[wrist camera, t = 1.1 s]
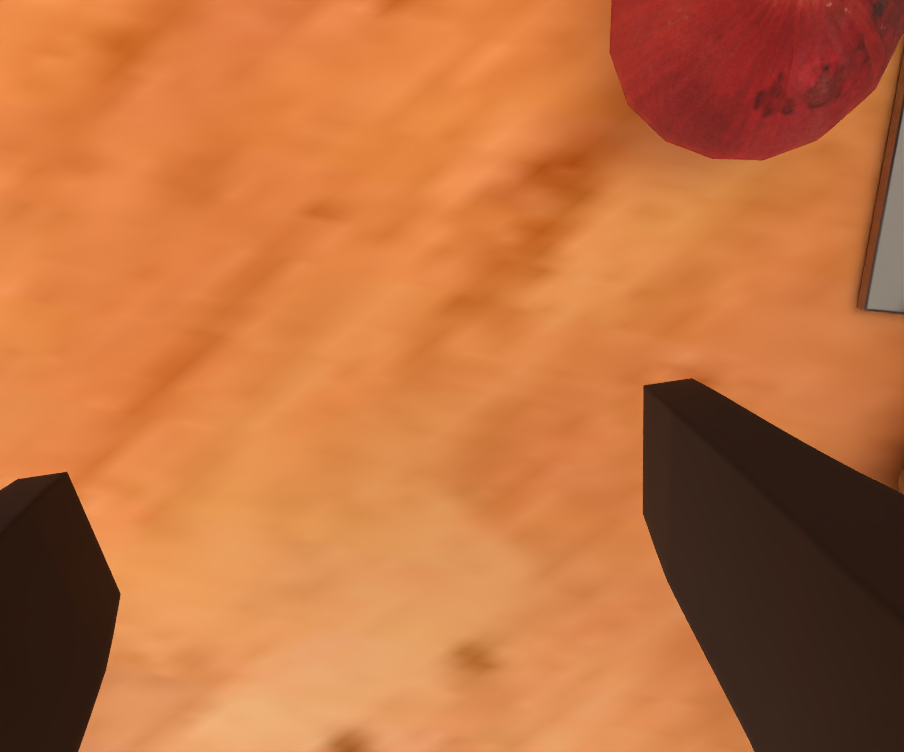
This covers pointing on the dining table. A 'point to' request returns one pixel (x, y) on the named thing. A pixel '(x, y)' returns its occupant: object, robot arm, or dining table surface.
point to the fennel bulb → (901, 482)
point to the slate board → (888, 225)
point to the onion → (750, 68)
